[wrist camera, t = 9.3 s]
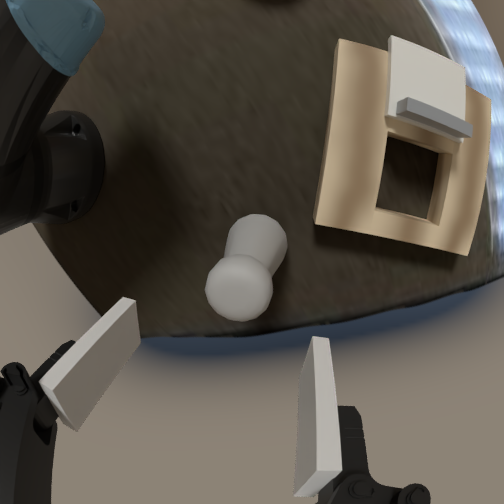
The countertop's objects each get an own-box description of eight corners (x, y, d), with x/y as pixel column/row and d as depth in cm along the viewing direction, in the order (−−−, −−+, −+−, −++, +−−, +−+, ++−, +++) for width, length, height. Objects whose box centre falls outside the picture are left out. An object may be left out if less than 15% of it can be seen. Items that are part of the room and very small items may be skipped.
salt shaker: (277, 269, 29) (266, 347, 17) (226, 253, 30) (183, 320, 17) (294, 219, 27) (296, 270, 15) (240, 202, 27) (199, 240, 15)
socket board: (312, 216, 27) (315, 224, 24) (334, 49, 21) (339, 38, 18) (454, 247, 25) (467, 255, 22) (476, 102, 19) (491, 99, 16)
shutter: (384, 115, 20) (398, 110, 16) (388, 38, 17) (400, 25, 13) (457, 142, 19) (477, 143, 16) (460, 69, 16) (477, 62, 13)
